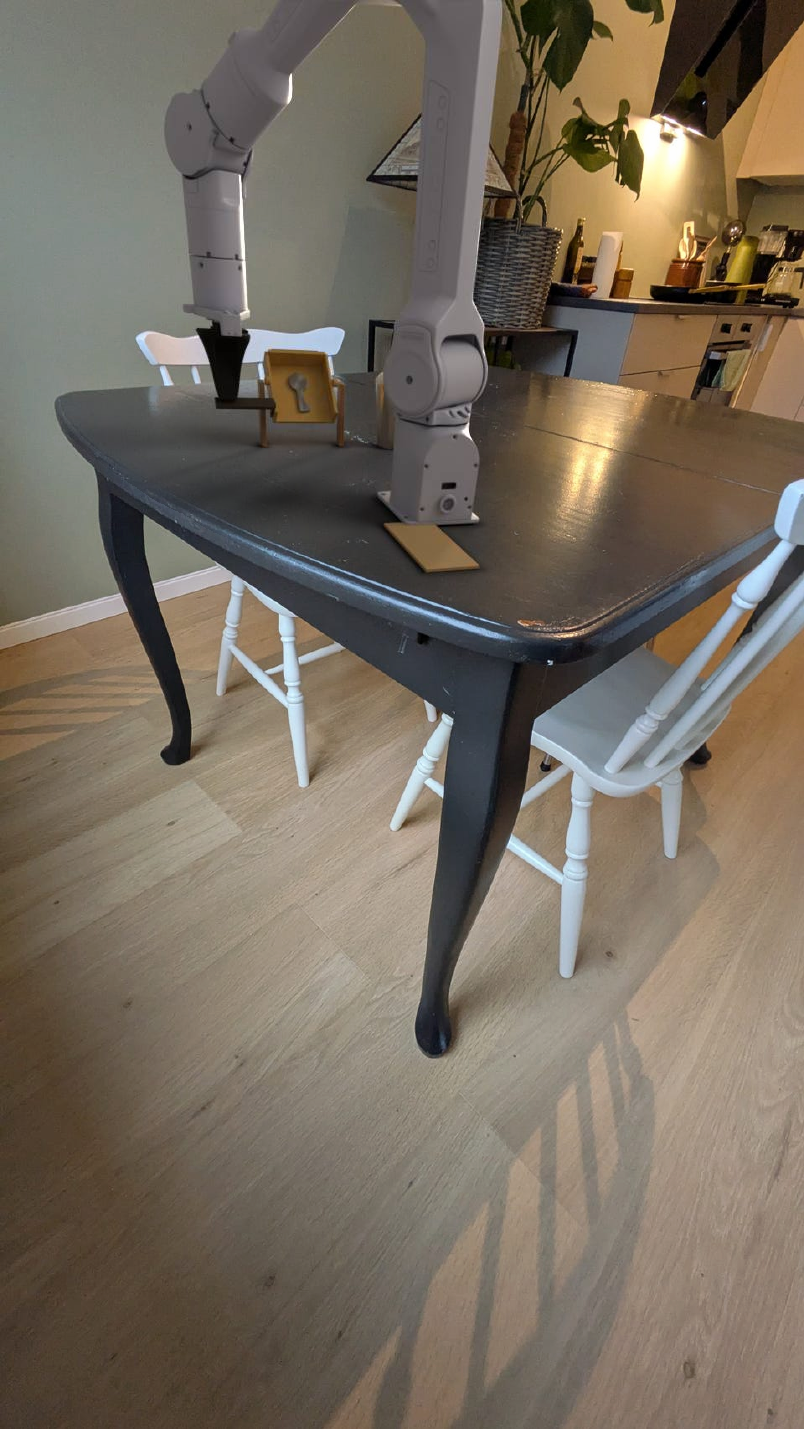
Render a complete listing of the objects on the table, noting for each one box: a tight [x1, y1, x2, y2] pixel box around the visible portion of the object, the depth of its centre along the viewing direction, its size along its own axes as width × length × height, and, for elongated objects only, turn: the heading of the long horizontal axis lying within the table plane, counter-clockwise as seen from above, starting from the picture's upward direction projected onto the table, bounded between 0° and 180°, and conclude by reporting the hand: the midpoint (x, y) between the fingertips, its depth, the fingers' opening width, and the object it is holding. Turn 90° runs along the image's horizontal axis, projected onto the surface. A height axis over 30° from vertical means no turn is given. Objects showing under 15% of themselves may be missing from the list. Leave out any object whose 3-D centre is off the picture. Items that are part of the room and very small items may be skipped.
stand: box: [257, 379, 346, 448], centre depth 81 cm, size 2×11×8 cm, turn 110°
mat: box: [383, 521, 480, 573], centre depth 58 cm, size 11×5×1 cm, turn 20°
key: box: [288, 373, 310, 413], centre depth 80 cm, size 5×2×1 cm
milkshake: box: [375, 371, 396, 450], centre depth 84 cm, size 4×5×10 cm
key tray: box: [214, 348, 339, 424], centre depth 79 cm, size 9×16×3 cm
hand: (227, 399), depth 75 cm, fingers closed, pressing on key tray
